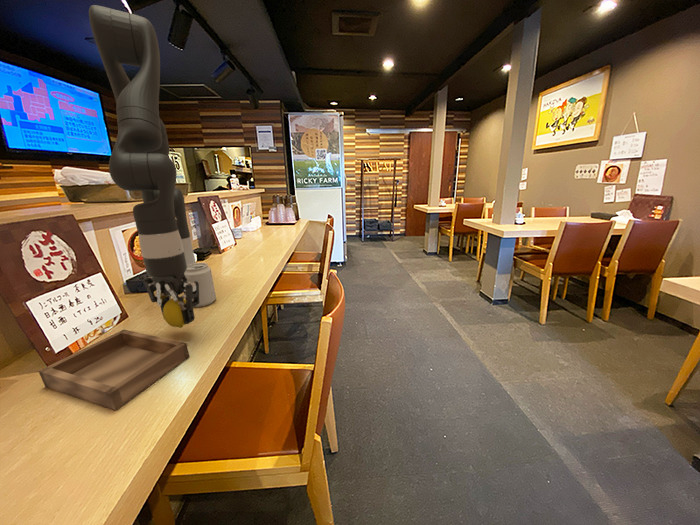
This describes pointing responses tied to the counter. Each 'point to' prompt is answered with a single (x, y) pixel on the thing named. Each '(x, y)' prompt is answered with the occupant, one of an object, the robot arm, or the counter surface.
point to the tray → (115, 368)
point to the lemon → (173, 313)
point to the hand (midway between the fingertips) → (179, 320)
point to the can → (202, 282)
